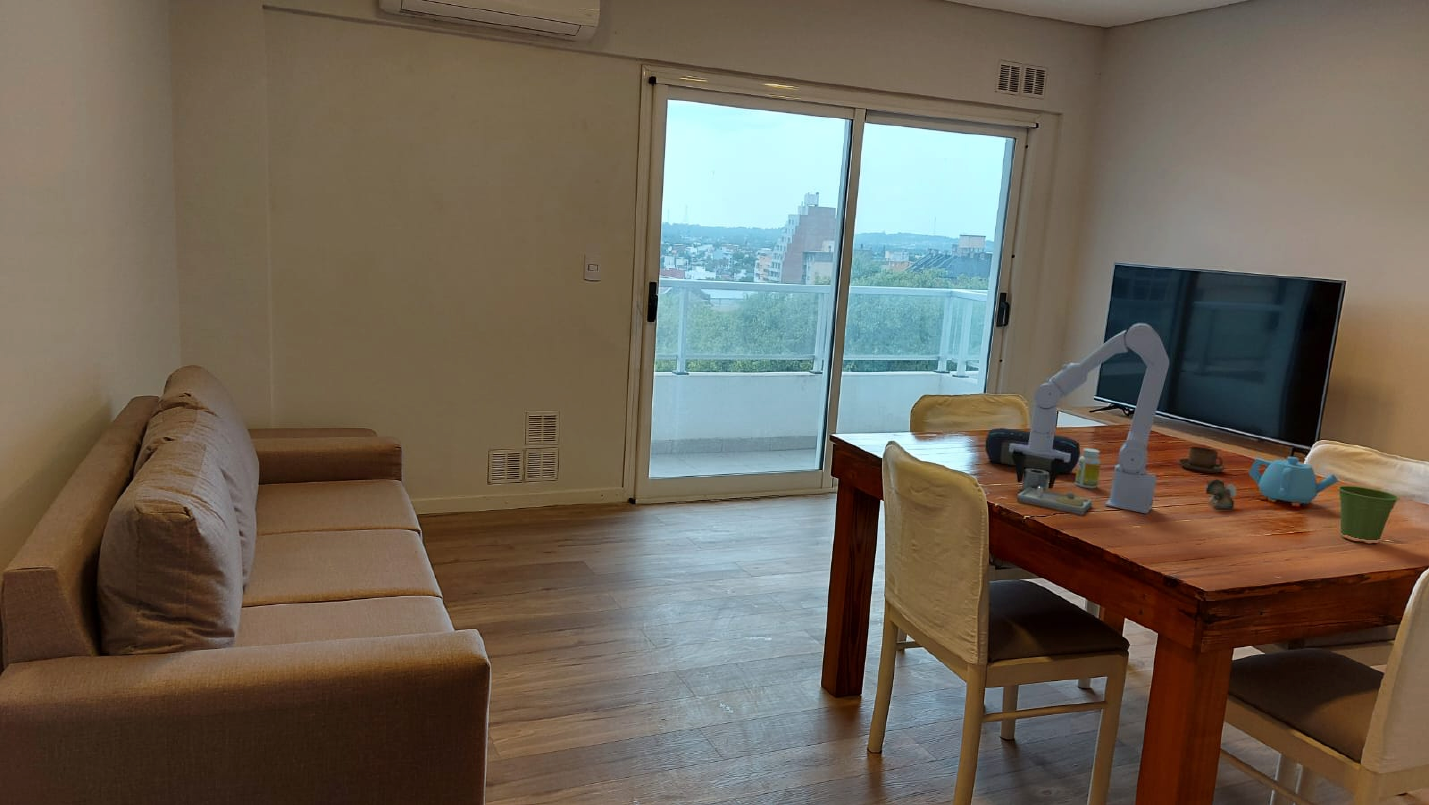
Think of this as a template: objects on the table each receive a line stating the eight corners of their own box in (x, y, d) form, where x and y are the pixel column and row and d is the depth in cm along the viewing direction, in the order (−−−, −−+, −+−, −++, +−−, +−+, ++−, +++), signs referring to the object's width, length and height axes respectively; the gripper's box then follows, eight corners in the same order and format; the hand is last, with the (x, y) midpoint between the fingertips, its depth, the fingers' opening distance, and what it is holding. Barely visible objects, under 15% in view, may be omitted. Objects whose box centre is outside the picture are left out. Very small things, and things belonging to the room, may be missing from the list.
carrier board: (1091, 506, 233) (1093, 493, 232) (1082, 514, 224) (1084, 501, 224) (1027, 493, 241) (1029, 480, 240) (1016, 501, 232) (1018, 488, 232)
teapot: (1239, 498, 252) (1246, 454, 250) (1250, 488, 265) (1258, 446, 263) (1328, 517, 240) (1337, 470, 238) (1336, 505, 253) (1345, 461, 251)
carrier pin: (1042, 501, 234) (1044, 487, 234) (1040, 502, 233) (1042, 488, 232) (1036, 499, 235) (1038, 485, 234) (1035, 501, 234) (1036, 487, 233)
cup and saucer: (1228, 472, 285) (1231, 451, 284) (1216, 477, 276) (1220, 456, 275) (1185, 463, 293) (1188, 443, 292) (1172, 468, 284) (1176, 447, 283)
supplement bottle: (1070, 484, 254) (1076, 448, 252) (1081, 482, 257) (1087, 446, 255) (1090, 489, 250) (1095, 453, 248) (1100, 487, 253) (1106, 451, 251)
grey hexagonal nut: (1048, 491, 245) (1051, 471, 244) (1042, 495, 240) (1045, 475, 239) (1025, 486, 247) (1028, 467, 247) (1019, 490, 243) (1022, 471, 242)
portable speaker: (980, 464, 270) (985, 428, 268) (985, 457, 279) (989, 423, 278) (1075, 479, 261) (1081, 442, 259) (1077, 471, 270) (1082, 436, 268)
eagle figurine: (1193, 493, 249) (1196, 494, 240) (1215, 471, 247) (1219, 472, 238) (1221, 515, 246) (1224, 517, 237) (1243, 493, 245) (1248, 495, 236)
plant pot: (1395, 542, 222) (1405, 494, 220) (1383, 551, 213) (1393, 502, 211) (1336, 528, 230) (1345, 482, 228) (1322, 536, 222) (1331, 489, 220)
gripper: (1076, 434, 241) (1068, 487, 243) (1017, 424, 248) (1010, 476, 250) (1069, 438, 235) (1061, 492, 237) (1009, 428, 242) (1002, 481, 245)
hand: (1035, 484), depth 243 cm, fingers open, 7 cm apart
